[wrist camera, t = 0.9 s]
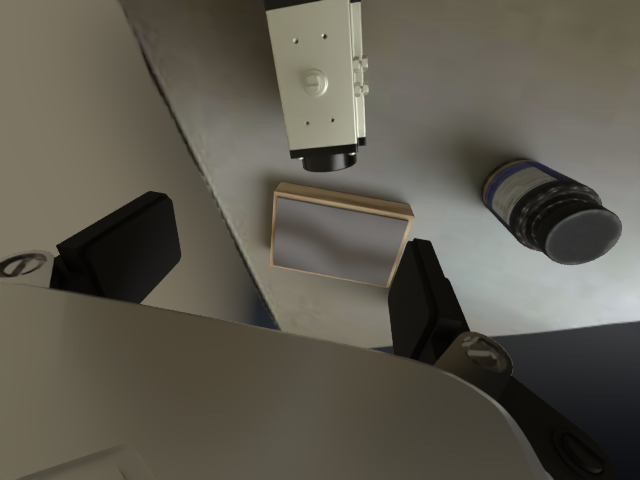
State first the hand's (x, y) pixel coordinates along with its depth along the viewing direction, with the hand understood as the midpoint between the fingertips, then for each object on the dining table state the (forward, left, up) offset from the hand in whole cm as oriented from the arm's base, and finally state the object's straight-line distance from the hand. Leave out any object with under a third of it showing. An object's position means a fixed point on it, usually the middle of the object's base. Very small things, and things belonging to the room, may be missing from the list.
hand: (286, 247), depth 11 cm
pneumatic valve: (-5, -1, -21) cm, 22 cm away
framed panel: (+11, +2, -21) cm, 24 cm away
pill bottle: (+2, +19, -21) cm, 29 cm away
